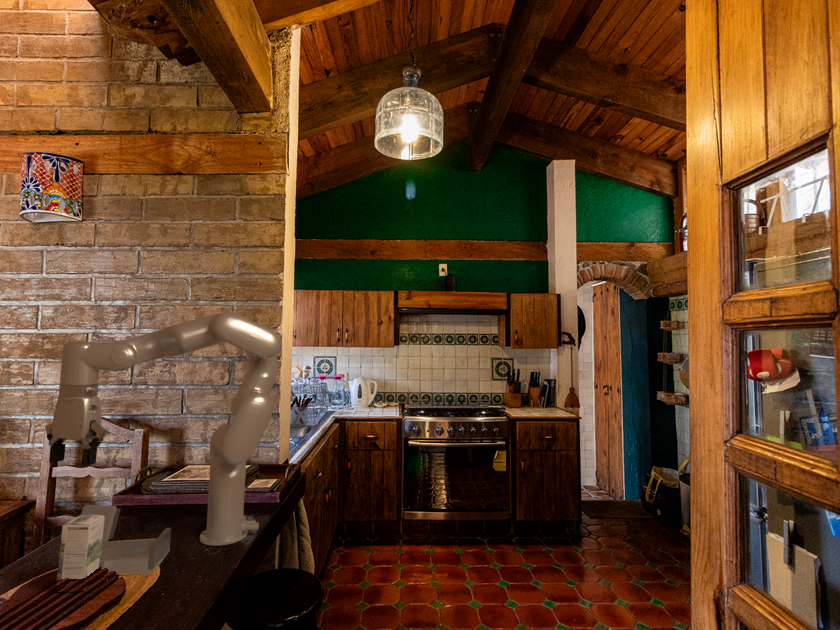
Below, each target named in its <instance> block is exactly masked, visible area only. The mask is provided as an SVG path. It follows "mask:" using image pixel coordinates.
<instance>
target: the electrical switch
mask: <svg viewBox="0 0 840 630" xmlns="http://www.w3.org/2000/svg"><path fill="white" fill-rule="evenodd" d="M80 513H81V514H80V516H81V515H102V516H105V518H104V529H103V539H102V542H107V541H109V540H111V539H114V536H115V532H116V529H117V523H118V521H119V517H120V513H121V508H117V506H116V505H101V504H85V505H84V506H83V507H82V511H81V512H80Z"/></svg>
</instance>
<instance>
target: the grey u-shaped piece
mask: <svg viewBox="0 0 840 630" xmlns="http://www.w3.org/2000/svg"><path fill="white" fill-rule="evenodd" d="M171 533H172V527H165V529H164V530H163V531H162V532H161V533H160V534H159V536H158V537H157V538H143V539H125V540H110V541H109V540H108V541H107V542H102V550H101V559H100V567H104V568H107V569H108V570H109V571H115V572H117V573H118V574H141V575H151V574H154V572H155V571H156V570H157V569H158V567H159V566H160V565H161V563H163V560H164V559H165V558H166V557H167V556H168V554H169V552H171V535H172V534H171Z"/></svg>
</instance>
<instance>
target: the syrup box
mask: <svg viewBox="0 0 840 630" xmlns="http://www.w3.org/2000/svg"><path fill="white" fill-rule="evenodd" d="M104 518H105V516H102V515H81V514H80V515H78V516H77V517H75V518H72V519H71V520H69V521H68V522H65V523H64V524H63V525H62V527H61V537H60V544H59V545H60V546H59V548H60V549H59V556H58V563H57V564H58V566H57V575H56V581H57V580H61V579H65V578H69V579H83V578H86V577H87V576H89V575H90V574H91V573H93V572H94V571H95V570H96V569H98V568H99V567H100V559H101V550H102V539H103V529H104Z"/></svg>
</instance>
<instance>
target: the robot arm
mask: <svg viewBox="0 0 840 630" xmlns="http://www.w3.org/2000/svg"><path fill="white" fill-rule="evenodd" d="M223 343H227V344H229V345H232V346H234V347H236V348H238V349H241V350H242V351H244V352H245V354H246V355H247V357H248V361H249V363H248V365H249V366H248V369H247V372H246V374H245V376H244V379H243V381H242V383H241V385H240V386H239V387H238V388H239V389H238V390H237V392H236V394H235V395H234V398H233V399H232V401H231V406H230V411H231V413H232V415H233V418H232V420H231V423H230V422H229V423H225V424H224V423H223V424H222V425H219V426H218V427H217V428H216V429H215V430H214V432H213V433H212V435H211V437H210V441H209V463H210V464H209V483H208V497H207V513H206V514H207V515H206V529H205V530H204V531H202V532H201V533H200V535H199V541H200V543H202V544H204V545H206V546H215V547H216V546H218V547H219V546H226V545H231V544H235V543H238V542H240V541H242V540H243V539H245V538H246V537H247V536H248V535H249V531H250V530H251V531H257V530H259V528H260V523H259V521H257V522H256V520H254V519H253V520H248V519H246V515H244V510H245V509H244V508H245V507H244V506H245V490H246V489H245V488H246V473H247V472H246V471H247V467H246V466H247V465H246V464H247V463H246V462H247V461H248V460H249V459H250V458H251V457H252V456H253V455H254V454H255V452H256V450H257V448H258V446H259V444H260V443H261V440H262V438H263V436H264V433H265V431H266V429H268V428H267V427H268V425H269V423H270V420H271V418H272V415H273V410H274V405H273V401H272V399H271V398H270V397H269V396H270V393H271V391H272V390H273V389H272V388H273V386H274V385H275V382H276V379H277V377H278V373H279V360H278V356H277V355H278V353H280V350H281V348H282V341H281V338H280V336H279V334H278V333H277V332H275V331H274V330H272V329H270V328H269V327H266V326H264V325H262V324H260V323H258V322H255V321H253V320H251V319H249V318H247V317H245V316H243V315H241V314H239V313H237V312H234V311H223V312H220V313H215V314H212V315H208V316H204V317H200V318H196V319H193V320H189V321H183V322H180V323H177V324H173V325H170V326H167V327H163V328H161V329H159V330H155V331H152V332H148V333H145V334H142V335H137V336H133V337H130V338H125V339H121V340H118V341H114V342H112V341H111V342H95V341H77V340H76V341H75V340H74V341H68V342H65V343H64V344H63V346H62V353H61V354H62V355H61V366H60V375H59V376H60V377H59V379H60V380H59V387H58V388H59V389H58V397H57V401H56V403H55V407H54V412H53V418H52V422H51V423H49V424H48V425H46V426H45V427H44V431H45V433H46V439H47V440H48V446H49V447H50V448H49V456H48V457H49V459H48V460H49V461H48V463H49V464H54V463H57V462H62V461H64V460H65V456H66V455H65V454H66V443H65V441H66V440H70V441H81V443H82V444H83V446H84V448H83V449H82V453H81V454H82V455H81V467H87V466H92V465H94V464H95V465H96V463H97V456H98V448H99V447H100V446H101V443H102V442H103V441H104V438H105V437H106V434H107V429H106V428H104V427H103V426H102V409H101V408H102V405H101V399H100V397H98V392H99V380H100V379H99V378H100V371H110V372H123V371H127V370H129V369H131V368H132V367H134V366H136V365H139V364H144V363H147V362H149V361H154V360H157V359H158V360H159V359H162V358H163V359H164V358H166V357H170V358H171V357H178V356H181V355H186V354H190V353H193V352H196V351H198V350H203V349H206V348H209V347H212V346H216V345H219V344H220V345H221V344H223Z"/></svg>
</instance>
